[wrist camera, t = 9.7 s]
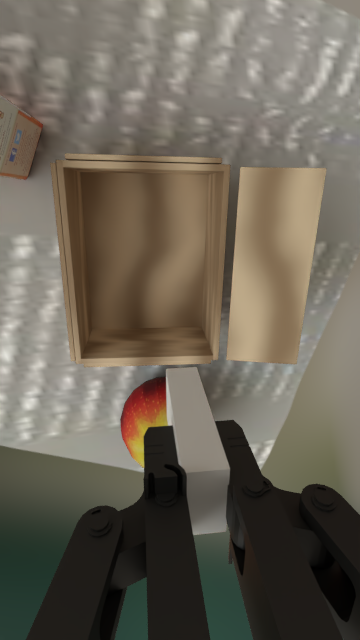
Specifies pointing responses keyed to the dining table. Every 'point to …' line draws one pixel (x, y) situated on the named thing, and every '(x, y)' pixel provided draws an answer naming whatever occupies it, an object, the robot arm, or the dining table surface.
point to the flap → (272, 261)
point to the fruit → (143, 415)
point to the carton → (141, 257)
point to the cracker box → (17, 140)
